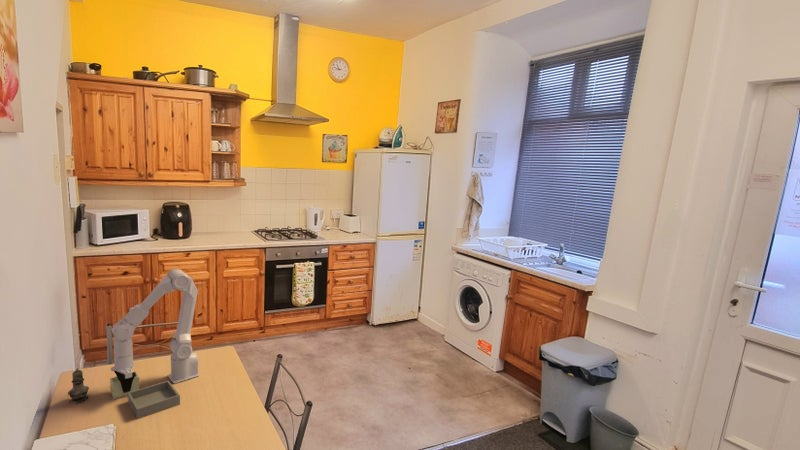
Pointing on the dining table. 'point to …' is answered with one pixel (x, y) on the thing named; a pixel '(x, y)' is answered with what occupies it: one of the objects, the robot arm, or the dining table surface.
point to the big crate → (153, 399)
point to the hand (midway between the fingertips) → (125, 388)
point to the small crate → (117, 388)
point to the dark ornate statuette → (78, 388)
